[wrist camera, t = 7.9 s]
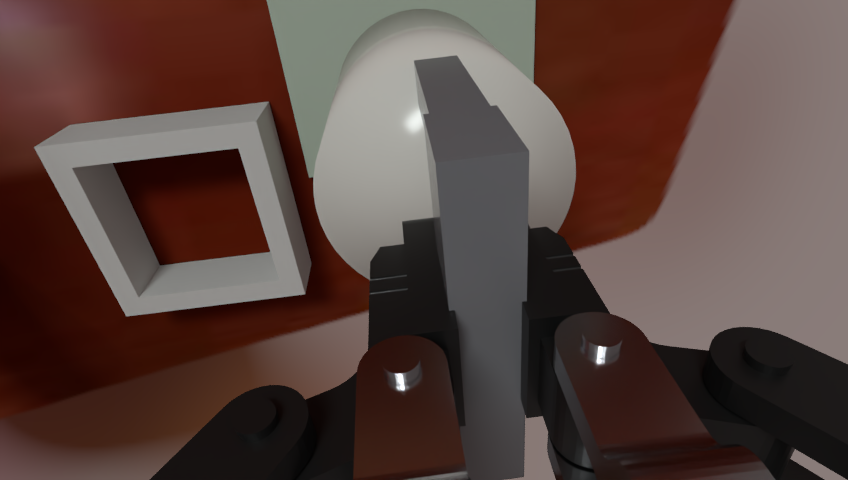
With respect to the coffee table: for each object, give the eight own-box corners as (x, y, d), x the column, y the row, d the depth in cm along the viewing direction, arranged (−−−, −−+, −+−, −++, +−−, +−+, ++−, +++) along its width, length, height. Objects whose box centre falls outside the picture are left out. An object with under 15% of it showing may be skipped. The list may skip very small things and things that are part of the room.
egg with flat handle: (353, 184, 23) (321, 503, 10) (321, 20, 19) (204, 190, 6) (504, 165, 23) (665, 457, 10) (501, -2, 19) (754, 123, 6)
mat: (246, -93, 27) (244, -94, 26) (536, -125, 27) (538, -126, 27) (309, 175, 35) (309, 177, 35) (530, 148, 36) (531, 151, 35)
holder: (70, 124, 32) (33, 147, 29) (268, 101, 32) (256, 121, 29) (148, 283, 39) (126, 316, 36) (311, 263, 39) (305, 294, 36)
